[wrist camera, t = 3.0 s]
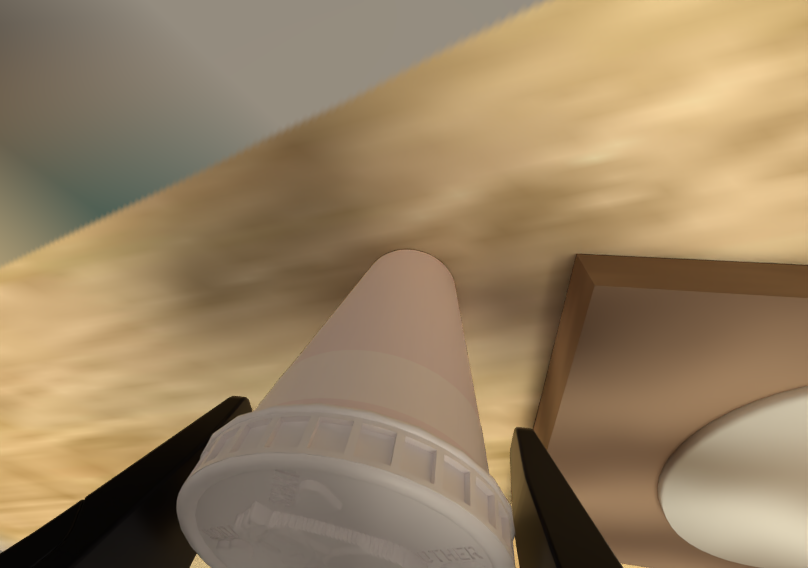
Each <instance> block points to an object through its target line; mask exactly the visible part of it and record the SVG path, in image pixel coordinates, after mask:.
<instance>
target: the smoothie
mask: <svg viewBox="0 0 808 568" xmlns="http://www.w3.org/2000/svg"><path fill="white" fill-rule="evenodd" d="M176 510H177V516H178V520H179V524H180V528H181V530H182V532H183V534H184V535H185V537H186V539H187V541H188V542H189V544H190V546H191V547H192V548H193V549H194V550H195V552H196V553H197V554H198V555H199V556H200V557H201V558H202V560H203V561H204V562H205V563H206V564H208V565H209V566H210V567H211V568H516V567H515V560H514V549H513V539H514V537H515V528H514V521H513V514H512V507H511V505H510V504H509V502H508V500H507V499H506V497H505V496H504V494H503V492H502V491H501V489H500V487H499V486H498V484H497V483H496V481H495V479H494V478H493V477H492V476H491V475H490V474H489V469H488V463H487V457H486V451H485V445H484V439H483V433H482V428H481V424H480V419H479V414H478V408H477V403H476V397H475V392H474V386H473V381H472V375H471V370H470V364H469V359H468V353H467V348H466V342H465V337H464V331H463V326H462V320H461V315H460V309H459V304H458V298H457V293H456V287H455V283H454V279H453V277H452V275H451V273H450V272H449V270H448V269H447V268H446V266H445V265H444V264H443V263H442V262H440V261H439V260H438V259H436V258H435V257H433V256H431V255H429V254H427V253H424V252H421V251H417V250H397V251H393V252H390V253H388V254H385V255H384V256H382V257H380V258H379V259H378V260H377V261H376V262H375V263H374V264H373V265H372V266H371V267H370V269H369V270H368V271H367V272H366V274H365V275H364V276H363V277H362V278H361V280H360V281H359V282H358V283H357V285H356V286H355V287H354V288H353V290H352V291H351V292H350V293H349V294H348V296H347V297H346V298H345V299H344V301H343V302H342V303H341V304H340V306H339V307H338V308H337V309H336V310H335V312H334V313H333V314H332V315H331V317H330V318H329V319H328V320H327V322H326V323H325V324H324V325H323V326H322V328H321V329H320V330H319V331H318V333H317V334H316V335H315V336H314V338H313V339H312V340H311V341H310V342H309V344H308V345H307V346H306V347H305V349H304V350H303V351H302V352H301V354H300V355H299V356H298V357H297V358H296V360H295V361H294V362H293V363H292V365H291V366H290V367H289V368H288V369H287V371H286V372H285V373H284V374H283V375H282V376H281V377H280V378H279V380H278V381H277V382H276V383H275V385H274V386H273V387H272V389H271V390H270V391H269V392H268V394H267V395H266V396H265V398H264V399H263V400H262V401H261V403H260V404H259V405H258V406H257V408H256V409H255V410H254V411H253V412H250V413H246V414H243V415H240V416H237V417H236V418H234V419H233V420H232V421H230V422H229V423H227V424H226V425H225V426H223V427H222V428H220V429H219V430H217V431H216V432H215V433H213V434H212V436H211V438H210V440H209V442H208V443H207V445H206V447H205V449H204V451H203V452H202V454H201V456H200V461H199V462H198V463H197V465H196V466H195V468H194V469H193V471H192V472H191V474H190V475H189V477H188V478H187V480H186V481H185V483H184V484H183V486H182V488H181V490H180V492H179V494H178V498H177V506H176Z"/></svg>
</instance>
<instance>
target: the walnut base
mask: <svg viewBox="0 0 808 568" xmlns="http://www.w3.org/2000/svg"><path fill="white" fill-rule="evenodd" d="M533 430H534V432H535V433H536V435H537V436H538V438H539V439H540V441H541V442H542V444H543V445H544V447H545V448H546V450H547V451H548V453H549V455H550V456H551V458H552V459H553V461H554V462H555V464H556V465H557V467H558V468H559V470H560V471H561V473H562V475H563V476H564V478H565V479H566V481H567V482H568V484H569V485H570V487H571V488H572V490H573V491H574V493H575V494H576V496H577V498H578V499H579V501H580V502H581V504H582V505H583V507H584V508H585V510H586V511H587V513H588V514H589V516H590V518H591V519H592V521H593V522H594V524H595V525H596V527H597V528H598V530H599V531H600V533H601V534H602V536H603V537H604V539H605V541H606V542H607V544H608V545H609V547H610V548H611V550H612V551H613V553H614V554H615V556H616V557H617V559H618V561H619V562H620V563H622V564H628V565H635V566H641V567H648V568H808V265H789V264H769V263H748V262H728V261H708V260H688V259H667V258H647V257H627V256H607V255H586V254H577V255H576V259H575V263H574V267H573V271H572V275H571V279H570V283H569V287H568V291H567V295H566V299H565V303H564V307H563V311H562V315H561V320H560V324H559V328H558V332H557V336H556V340H555V344H554V348H553V352H552V356H551V360H550V364H549V368H548V372H547V376H546V380H545V384H544V388H543V392H542V396H541V400H540V404H539V409H538V413H537V417H536V421H535V425H534V429H533Z"/></svg>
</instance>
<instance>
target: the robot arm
mask: <svg viewBox="0 0 808 568" xmlns="http://www.w3.org/2000/svg"><path fill="white" fill-rule="evenodd" d="M250 412H253V411H252V408H251V405H250V402H249V400H248V398H246V397H241V396H231V397H229V398H228V399H226V400H225V401H223V402H222V403H220V404H219V405H218V406H216V407H215V408H213V409H212V410H210V411H209V412H207V413H206V414H205V415H203V416H202V417H200V418H199V419H197V420H196V421H195V422H193V423H192V424H190V425H189V426H187V427H186V428H184V429H183V430H182V431H180V432H179V433H177V434H176V435H174V436H173V437H171V438H170V439H169V440H167V441H166V442H164V443H163V444H161V445H160V446H158V447H157V448H156V449H154V450H153V451H151V452H150V453H148V454H147V455H145V456H144V457H143V458H141V459H140V460H138V461H137V462H135V463H134V464H133V465H131V466H130V467H128V468H127V469H125V470H124V471H122V472H121V473H120V474H118V475H117V476H115V477H114V478H112V479H111V480H109V481H108V482H107V483H105V484H104V485H102V486H101V487H99V488H98V489H96V490H95V491H94V492H92V493H91V494H89V495H88V496H86V497H85V500H80V501H79V502H78V503H76V504H75V505H73V506H72V507H70V508H69V509H67V510H66V511H65V512H63V513H62V514H60V515H59V516H57V517H56V518H54V519H53V520H51V521H50V522H48V523H47V524H45V525H44V526H42V527H41V528H39V529H38V530H36V531H35V532H33V533H32V534H30V535H29V536H27V537H25V538H24V539H22V540H21V541H19V542H18V543H16V544H14V545H13V546H11V547H10V548H8V549H7V550H5V551H3V552H2V553H0V568H190V566H191V564H192V562H193V560H194V558H195V556H196V554H197V553H196V552H195V550H194V549H193V548H192V547H191V546H190V544H189V542H188V541H187V539H186V537H185V535H184V534H183V532H182V530H181V528H180V524H179V520H178V516H177V510H176V506H177V498H178V494H179V492H180V490H181V488H182V486H183V484H184V483H185V481H186V480H187V478H188V477H189V475H190V474H191V472H192V471H193V469H194V468H195V466H196V465H197V463H198V462H199V461H200V456H201V454H202V452H203V451H204V449H205V447H206V445H207V443H208V442H209V440H210V438H211V436H212V434H213V433H215V432H216V431H217V430H219V429H220V428H222V427H223V426H225V425H226V424H227V423H229V422H230V421H232V420H233V419H234V418H236V417H237V416H240V415H243V414H246V413H250ZM510 469H511V492H512V513H513V521H514V528H515V540H516V547H517V553H518V560H519V566H520V568H623V567H622V565H621V564H620V562H619V561H618V559H617V557H616V556H615V554H614V553H613V551H612V550H611V548H610V547H609V545H608V544H607V542H606V541H605V539H604V537H603V536H602V534H601V533H600V531H599V530H598V528H597V527H596V525H595V524H594V522H593V521H592V519H591V518H590V516H589V514H588V513H587V511H586V510H585V508H584V507H583V505H582V504H581V502H580V501H579V499H578V498H577V496H576V494H575V493H574V491H573V490H572V488H571V487H570V485H569V484H568V482H567V481H566V479H565V478H564V476H563V475H562V473H561V471H560V470H559V468H558V467H557V465H556V464H555V462H554V461H553V459H552V458H551V456H550V455H549V453H548V451H547V450H546V448H545V447H544V445H543V444H542V442H541V441H540V439H539V438H538V436H537V435H536V433H535V432H534V430H532V429H530V428H522V427H516V428H515V430H514V433H513V438H512V443H511V448H510Z"/></svg>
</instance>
